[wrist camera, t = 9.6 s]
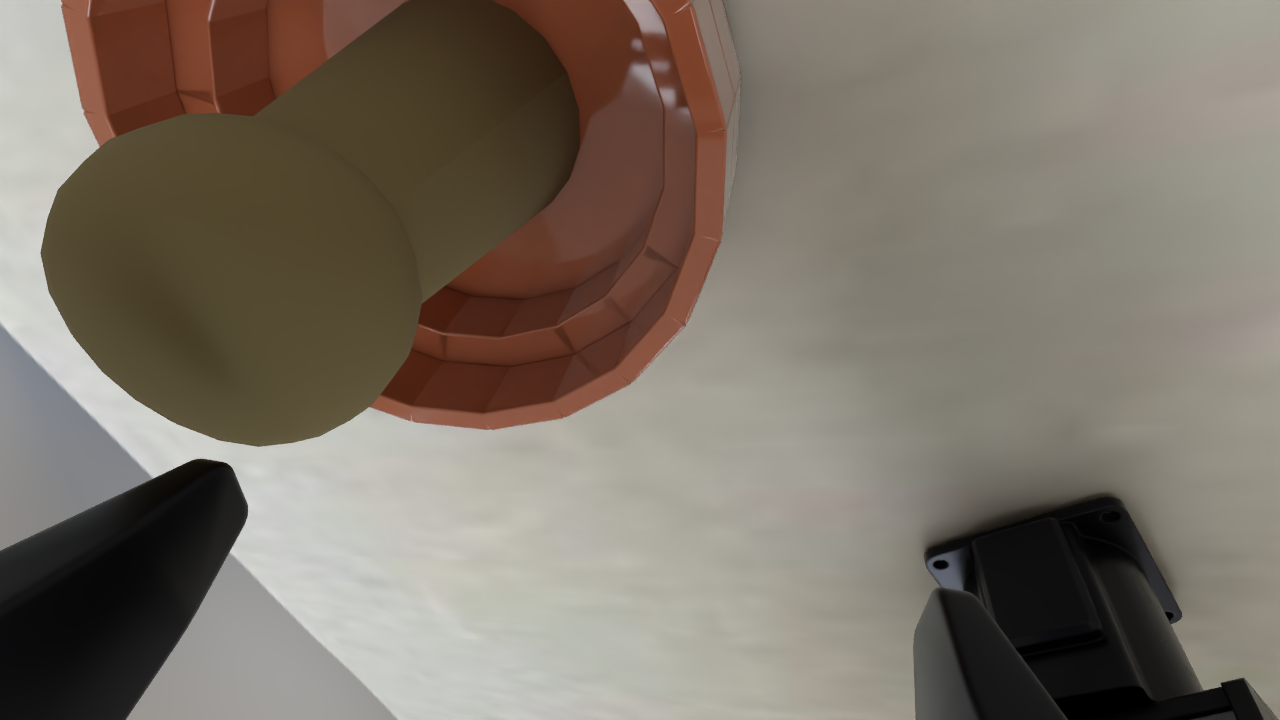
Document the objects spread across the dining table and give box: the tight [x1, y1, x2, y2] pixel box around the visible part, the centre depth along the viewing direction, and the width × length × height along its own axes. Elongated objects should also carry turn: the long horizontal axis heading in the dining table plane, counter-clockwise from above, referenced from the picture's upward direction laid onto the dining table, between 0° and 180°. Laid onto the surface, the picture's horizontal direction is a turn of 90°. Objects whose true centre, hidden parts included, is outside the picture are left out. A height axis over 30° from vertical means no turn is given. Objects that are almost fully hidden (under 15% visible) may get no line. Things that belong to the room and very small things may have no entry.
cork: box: [41, 0, 580, 447], centre depth 14 cm, size 6×6×11 cm
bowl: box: [61, 0, 741, 430], centre depth 17 cm, size 14×14×5 cm
